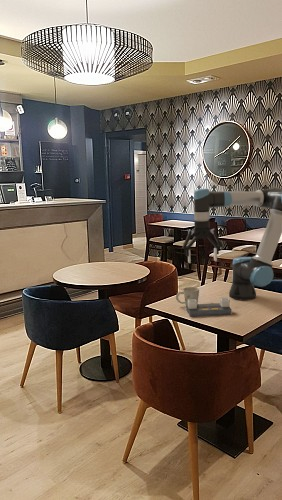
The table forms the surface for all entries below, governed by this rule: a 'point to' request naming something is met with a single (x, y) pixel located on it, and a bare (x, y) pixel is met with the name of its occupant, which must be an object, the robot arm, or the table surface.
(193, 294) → the mug
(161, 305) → the table surface
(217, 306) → the console
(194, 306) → the toggle
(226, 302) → the toggle
